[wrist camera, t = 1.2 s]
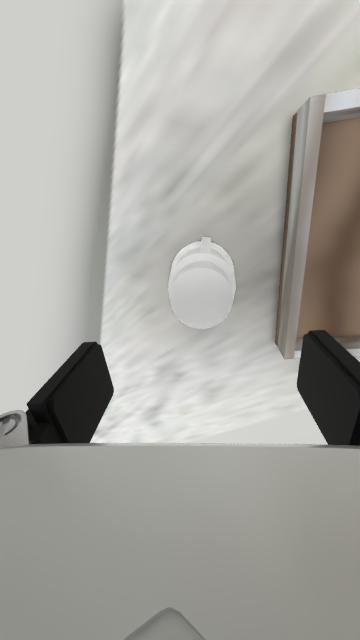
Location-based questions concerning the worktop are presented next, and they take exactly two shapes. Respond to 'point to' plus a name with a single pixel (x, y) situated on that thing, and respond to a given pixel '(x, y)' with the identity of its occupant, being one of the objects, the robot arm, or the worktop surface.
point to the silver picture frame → (322, 226)
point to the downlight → (201, 284)
